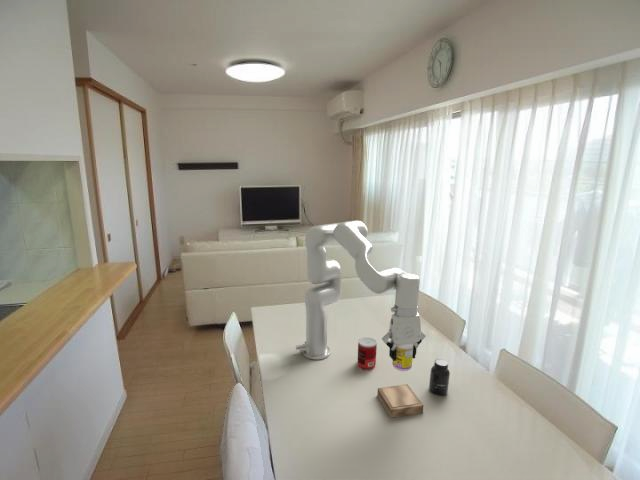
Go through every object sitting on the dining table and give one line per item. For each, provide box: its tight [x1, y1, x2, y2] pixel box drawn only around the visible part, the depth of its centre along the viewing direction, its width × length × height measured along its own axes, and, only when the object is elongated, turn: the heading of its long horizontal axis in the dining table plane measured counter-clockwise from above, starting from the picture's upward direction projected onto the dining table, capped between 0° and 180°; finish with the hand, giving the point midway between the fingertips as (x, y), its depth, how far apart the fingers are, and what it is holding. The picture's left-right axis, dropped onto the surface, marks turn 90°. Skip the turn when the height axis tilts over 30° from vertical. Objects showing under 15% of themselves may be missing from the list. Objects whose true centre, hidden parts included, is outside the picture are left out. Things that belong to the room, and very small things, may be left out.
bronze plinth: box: [376, 384, 424, 419], centre depth 125 cm, size 12×12×3 cm
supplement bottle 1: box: [392, 343, 413, 372], centre depth 121 cm, size 7×7×13 cm
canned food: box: [357, 336, 378, 371], centre depth 148 cm, size 8×8×11 cm
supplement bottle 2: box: [428, 358, 451, 396], centre depth 132 cm, size 7×7×12 cm
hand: (402, 357), depth 121 cm, fingers closed on supplement bottle 1, 6 cm apart
